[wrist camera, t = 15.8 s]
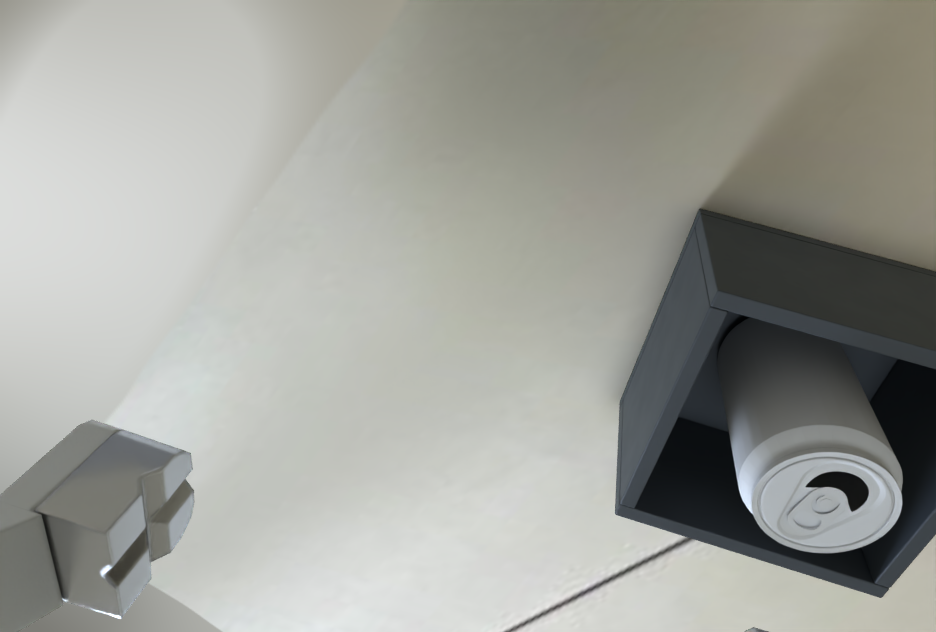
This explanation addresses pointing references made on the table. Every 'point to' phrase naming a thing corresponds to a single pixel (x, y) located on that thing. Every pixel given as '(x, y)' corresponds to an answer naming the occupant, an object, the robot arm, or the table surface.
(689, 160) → the table surface
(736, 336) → the beverage can
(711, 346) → the waste bin
